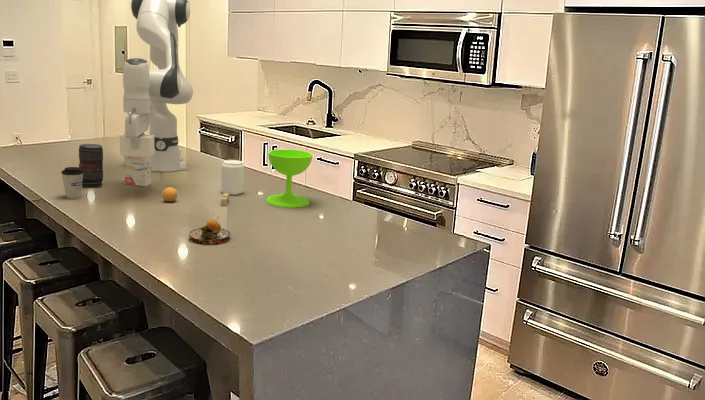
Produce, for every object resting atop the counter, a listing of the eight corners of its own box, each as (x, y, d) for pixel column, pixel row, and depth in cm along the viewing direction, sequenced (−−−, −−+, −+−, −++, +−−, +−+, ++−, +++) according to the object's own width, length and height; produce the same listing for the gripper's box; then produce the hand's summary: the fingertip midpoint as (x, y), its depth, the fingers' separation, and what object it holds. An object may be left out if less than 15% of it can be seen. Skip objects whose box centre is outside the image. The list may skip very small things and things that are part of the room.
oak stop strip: (223, 200, 215) (223, 193, 214) (228, 200, 215) (228, 193, 215) (220, 205, 207) (221, 199, 207) (226, 206, 208) (226, 199, 207)
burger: (213, 230, 182) (214, 206, 180) (238, 240, 175) (239, 216, 173) (179, 238, 173) (180, 213, 171) (205, 249, 166) (205, 223, 164)
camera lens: (87, 189, 215) (86, 148, 211) (75, 184, 220) (74, 144, 216) (108, 186, 221) (107, 146, 218) (96, 182, 226) (95, 142, 222)
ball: (163, 199, 210) (163, 185, 209) (178, 199, 211) (178, 186, 209) (161, 202, 205) (161, 188, 204) (176, 203, 206) (176, 189, 205)
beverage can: (238, 196, 221) (239, 164, 218) (217, 193, 223) (218, 162, 220) (246, 191, 229) (247, 161, 226) (226, 189, 230) (227, 158, 227)
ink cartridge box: (124, 184, 226) (123, 145, 222) (130, 181, 231) (129, 143, 227) (145, 186, 225) (145, 147, 222) (151, 183, 230) (151, 145, 226)
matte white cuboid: (125, 151, 212) (125, 133, 210) (154, 153, 213) (154, 135, 212) (120, 155, 205) (119, 136, 204) (150, 156, 206) (150, 138, 205)
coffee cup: (57, 197, 202) (56, 168, 200) (75, 193, 209) (74, 165, 206) (71, 200, 199) (70, 171, 197) (89, 197, 205) (88, 168, 203)
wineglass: (283, 193, 230) (286, 147, 226) (318, 202, 223) (321, 154, 218) (257, 201, 217) (258, 152, 213) (292, 210, 209) (295, 159, 205)
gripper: (139, 111, 196) (139, 152, 199) (152, 104, 215) (152, 142, 219) (119, 109, 195) (120, 151, 198) (134, 103, 214) (134, 141, 218)
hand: (137, 146), depth 209 cm, fingers closed on matte white cuboid, 7 cm apart
